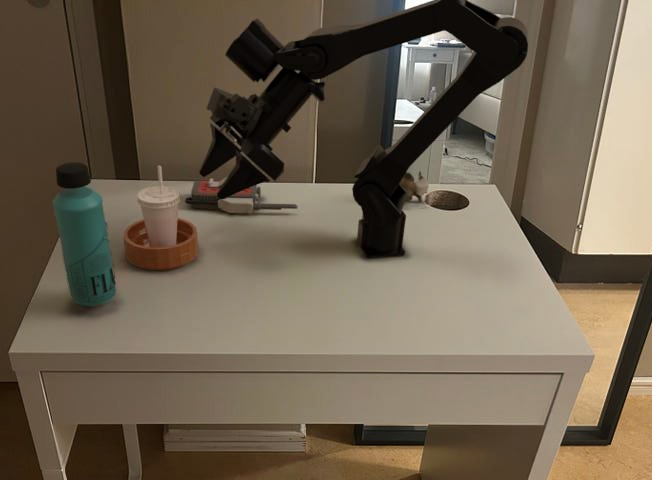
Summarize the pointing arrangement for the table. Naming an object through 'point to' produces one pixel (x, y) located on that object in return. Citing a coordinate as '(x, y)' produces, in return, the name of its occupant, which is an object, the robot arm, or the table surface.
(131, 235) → the bowl
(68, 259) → the beverage bottle
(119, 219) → the table surface
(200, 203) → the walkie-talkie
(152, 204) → the smoothie
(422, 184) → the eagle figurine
